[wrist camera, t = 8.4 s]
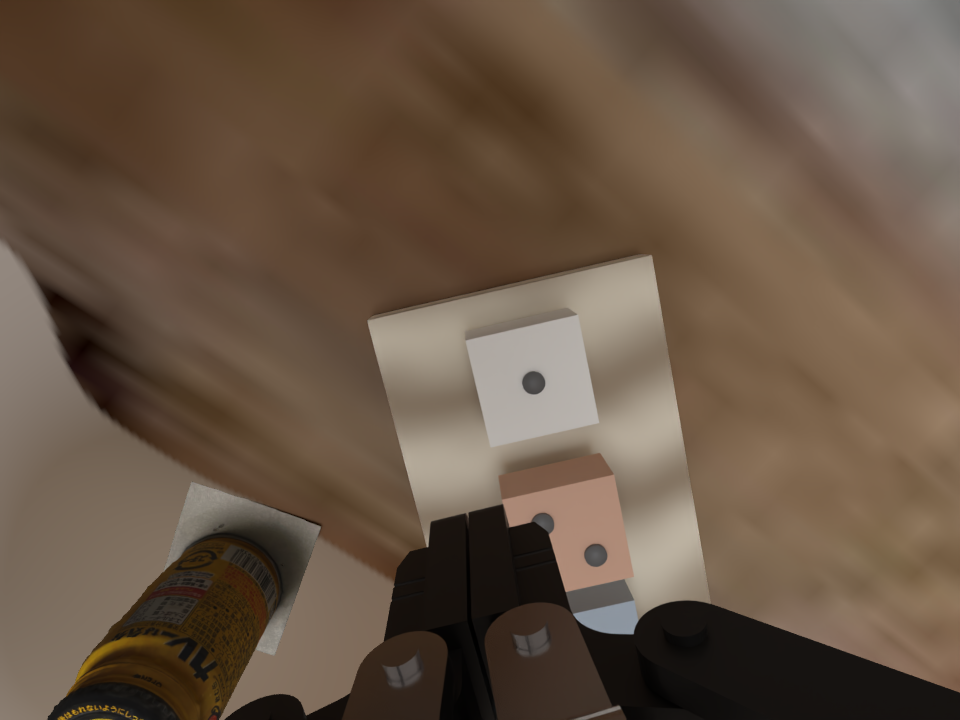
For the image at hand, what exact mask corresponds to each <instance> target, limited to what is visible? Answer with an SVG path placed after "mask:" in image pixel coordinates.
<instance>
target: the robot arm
mask: <svg viewBox="0 0 960 720" xmlns="http://www.w3.org/2000/svg"><path fill="white" fill-rule="evenodd" d="M394 586H395V588H393V594H392V602H391V605H390V610H389V616H388V621H387V627H386V632H385V637H384V642H383V643H381V644H380V645H379V646H377V647H376V648H374V649H373V650H372V651H371V652H370V653H369V654H368V655H367V656H366V658H365V659H364V660H363V662H362V663H361V665H360V667H359V669H358V671H357V675H356V678H355V681H354V684H353V687H352V690H351V693H350V694H348V695H347V696H345V697H343V698H341V699H339V700H338V701H336V702H333V703H331V704H329V705H327V706H325V707H323V708H321V709H319V710H317V711H315V712H313V713H311V714H309V715H307V716H306V715H305V712H304V709H303V707H302V704H301V702H300V701H299V700H298V699H297V698H295V697H293V696H290V695H285V694H276V695H270V696H266V697H263V698H260V699H257V700H255V701H252V702H250V703H248V704H246V705H245V706H243V707H241V708H240V709H238V710H236V711H235V712H233V713H232V714H231V715H230V716H228V717H227V718H226V719H225V720H960V693H959V692H956V691H954V690H951V689H948V688H945V687H942V686H940V685H937V684H934V683H931V682H928V681H926V680H923V679H920V678H917V677H914V676H912V675H909V674H906V673H903V672H900V671H898V670H895V669H892V668H889V667H886V666H883V665H881V664H878V663H875V662H872V661H869V660H867V659H864V658H861V657H858V656H855V655H853V654H850V653H847V652H844V651H841V650H839V649H836V648H833V647H830V646H827V645H825V644H822V643H819V642H816V641H813V640H811V639H808V638H805V637H802V636H799V635H797V634H794V633H791V632H788V631H785V630H783V629H780V628H777V627H774V626H771V625H768V624H766V623H763V622H760V621H757V620H754V619H752V618H749V617H746V616H743V615H740V614H738V613H735V612H732V611H729V610H726V609H724V608H721V607H718V606H715V605H712V604H709V603H705V602H700V601H691V600H683V601H673V602H668V603H665V604H662V605H659V606H657V607H654V608H653V609H651V610H649V611H648V612H647V613H645V614H644V615H643V616H642V617H641V618H640V619H639V621H638V622H637V624H636V626H635V629H634V634H610V633H604V632H599V631H596V630H593V629H591V628H588V627H586V626H585V625H583V624H582V623H580V622H579V621H578V620H577V619H576V618H575V616H574V615H573V613H572V611H571V609H570V605H569V602H568V598H567V595H566V591H565V588H564V585H563V581H562V578H561V574H560V571H559V567H558V564H557V561H556V557H555V554H554V550H553V547H552V543H551V540H550V537H549V533H548V531H546V530H545V529H544V528H542V527H541V526H540V525H538V524H537V523H536V522H530V523H526V524H522V525H517V526H513V527H509V523H508V519H507V515H506V511H505V508H504V505H503V504H500V505H496V506H492V507H488V508H483V509H479V510H475V511H471V512H469V513H468V516H467V514H466V513H463V514H459V515H455V516H451V517H447V518H442V519H438V520H434V521H431V523H430V533H429V543H428V547H426V548H422V549H418V550H414V551H410V552H409V553H408V555H407V556H406V557H405V559H404V560H403V561H402V562H401V564H400V565H399V566H398V568H397V572H396V577H395V583H394Z"/></svg>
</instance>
